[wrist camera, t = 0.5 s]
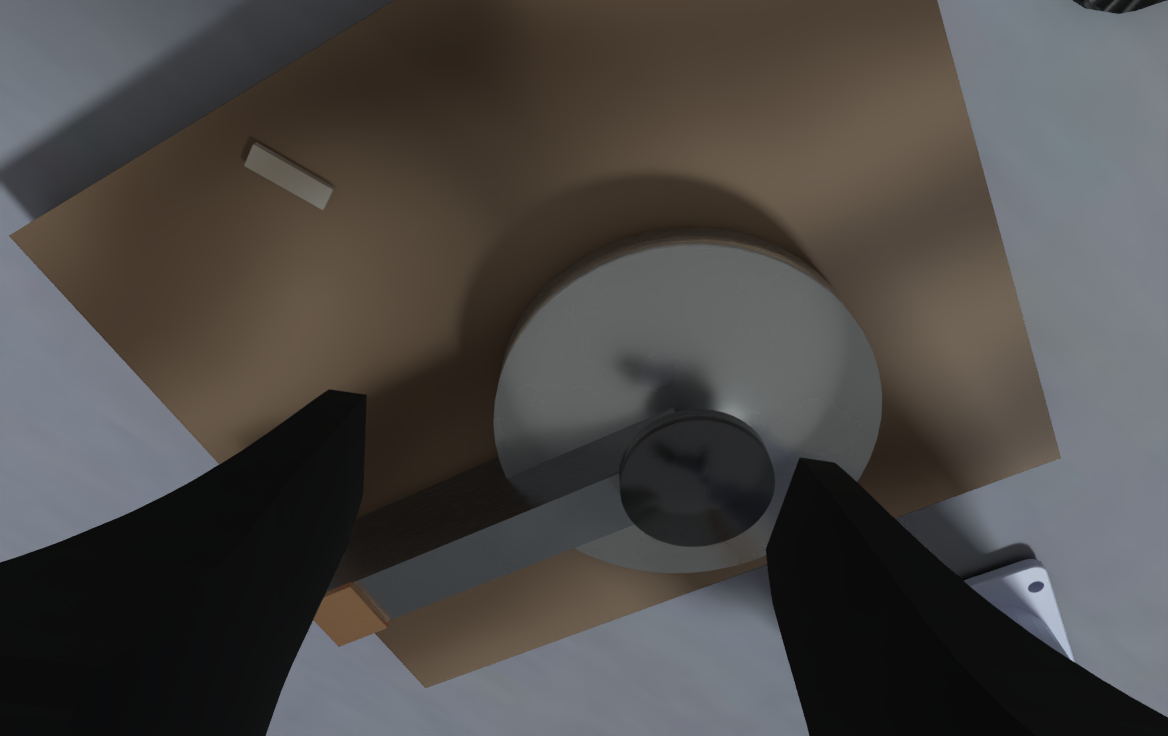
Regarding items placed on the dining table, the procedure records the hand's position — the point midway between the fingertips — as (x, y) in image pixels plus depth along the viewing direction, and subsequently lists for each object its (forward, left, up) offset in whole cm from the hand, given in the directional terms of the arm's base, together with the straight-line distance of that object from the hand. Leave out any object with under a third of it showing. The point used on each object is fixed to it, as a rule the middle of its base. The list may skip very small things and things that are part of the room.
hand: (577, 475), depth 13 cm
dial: (-4, +2, -8) cm, 9 cm away
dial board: (-2, +1, -10) cm, 10 cm away
